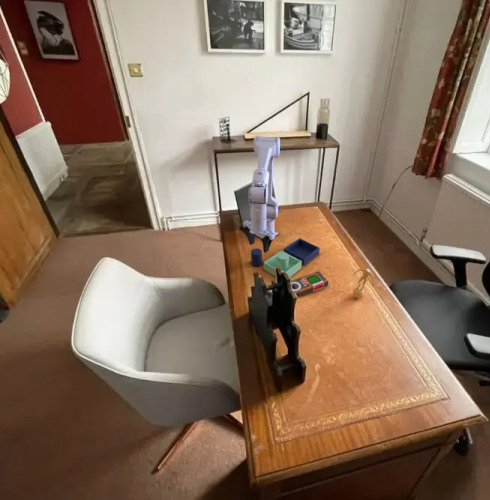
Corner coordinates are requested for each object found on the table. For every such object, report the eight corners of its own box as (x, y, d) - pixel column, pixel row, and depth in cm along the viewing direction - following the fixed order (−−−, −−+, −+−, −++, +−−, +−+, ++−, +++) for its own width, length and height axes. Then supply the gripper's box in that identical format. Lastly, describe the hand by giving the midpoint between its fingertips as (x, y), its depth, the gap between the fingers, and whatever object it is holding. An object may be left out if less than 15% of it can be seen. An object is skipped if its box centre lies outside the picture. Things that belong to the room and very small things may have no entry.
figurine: (344, 293, 116) (349, 268, 109) (353, 286, 119) (359, 261, 112) (364, 305, 111) (370, 280, 104) (373, 297, 115) (380, 272, 108)
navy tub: (283, 255, 134) (284, 248, 132) (299, 244, 140) (299, 238, 138) (303, 266, 128) (304, 259, 126) (319, 254, 135) (319, 247, 133)
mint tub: (263, 269, 126) (263, 262, 124) (281, 257, 133) (281, 250, 131) (284, 281, 120) (284, 274, 118) (301, 268, 127) (301, 261, 125)
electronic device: (285, 282, 116) (319, 269, 122) (285, 288, 118) (319, 275, 123) (293, 294, 112) (329, 280, 117) (293, 299, 113) (328, 286, 119)
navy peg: (249, 263, 129) (248, 251, 125) (256, 258, 131) (256, 247, 128) (256, 268, 126) (256, 256, 123) (264, 263, 129) (264, 251, 126)
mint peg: (274, 268, 126) (275, 256, 122) (282, 263, 129) (282, 251, 125) (283, 272, 124) (283, 260, 120) (290, 267, 126) (291, 255, 123)
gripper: (236, 214, 117) (238, 244, 125) (265, 229, 110) (265, 259, 118) (250, 207, 121) (251, 237, 129) (279, 221, 114) (278, 251, 122)
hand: (259, 247), depth 124 cm, fingers open, 7 cm apart
